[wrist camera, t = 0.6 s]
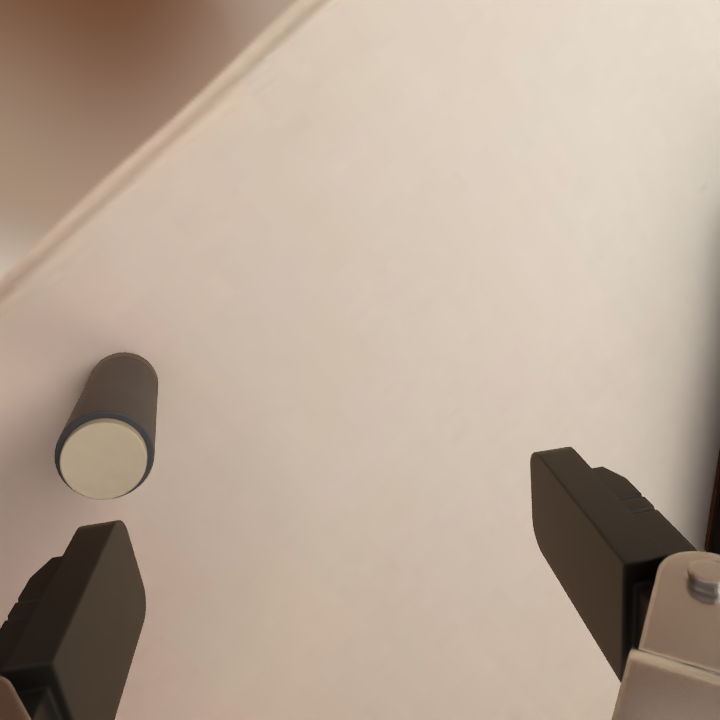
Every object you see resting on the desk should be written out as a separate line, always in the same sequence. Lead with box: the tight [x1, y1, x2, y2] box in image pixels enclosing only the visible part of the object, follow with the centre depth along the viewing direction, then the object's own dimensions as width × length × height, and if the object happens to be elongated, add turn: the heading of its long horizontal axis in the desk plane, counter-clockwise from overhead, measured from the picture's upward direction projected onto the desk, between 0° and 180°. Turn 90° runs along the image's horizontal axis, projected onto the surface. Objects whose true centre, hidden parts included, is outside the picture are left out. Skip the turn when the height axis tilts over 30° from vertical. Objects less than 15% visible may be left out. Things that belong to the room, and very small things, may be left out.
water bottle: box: [55, 353, 158, 500], centre depth 23 cm, size 3×3×10 cm
